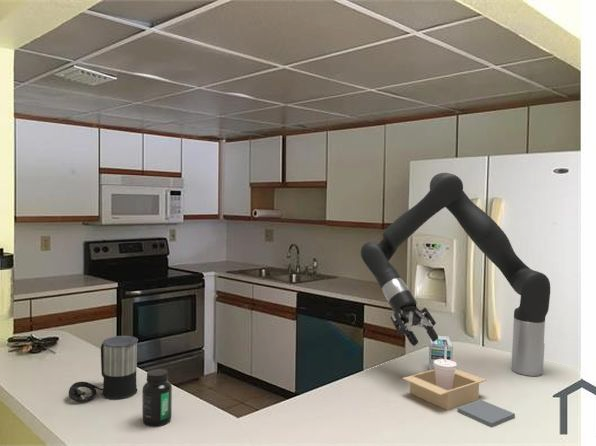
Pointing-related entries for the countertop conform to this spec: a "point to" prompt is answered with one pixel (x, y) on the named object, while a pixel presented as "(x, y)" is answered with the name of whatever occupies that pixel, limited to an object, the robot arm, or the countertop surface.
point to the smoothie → (444, 372)
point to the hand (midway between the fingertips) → (426, 342)
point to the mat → (486, 413)
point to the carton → (460, 393)
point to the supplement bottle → (157, 399)
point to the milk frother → (113, 370)
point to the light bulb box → (439, 350)
